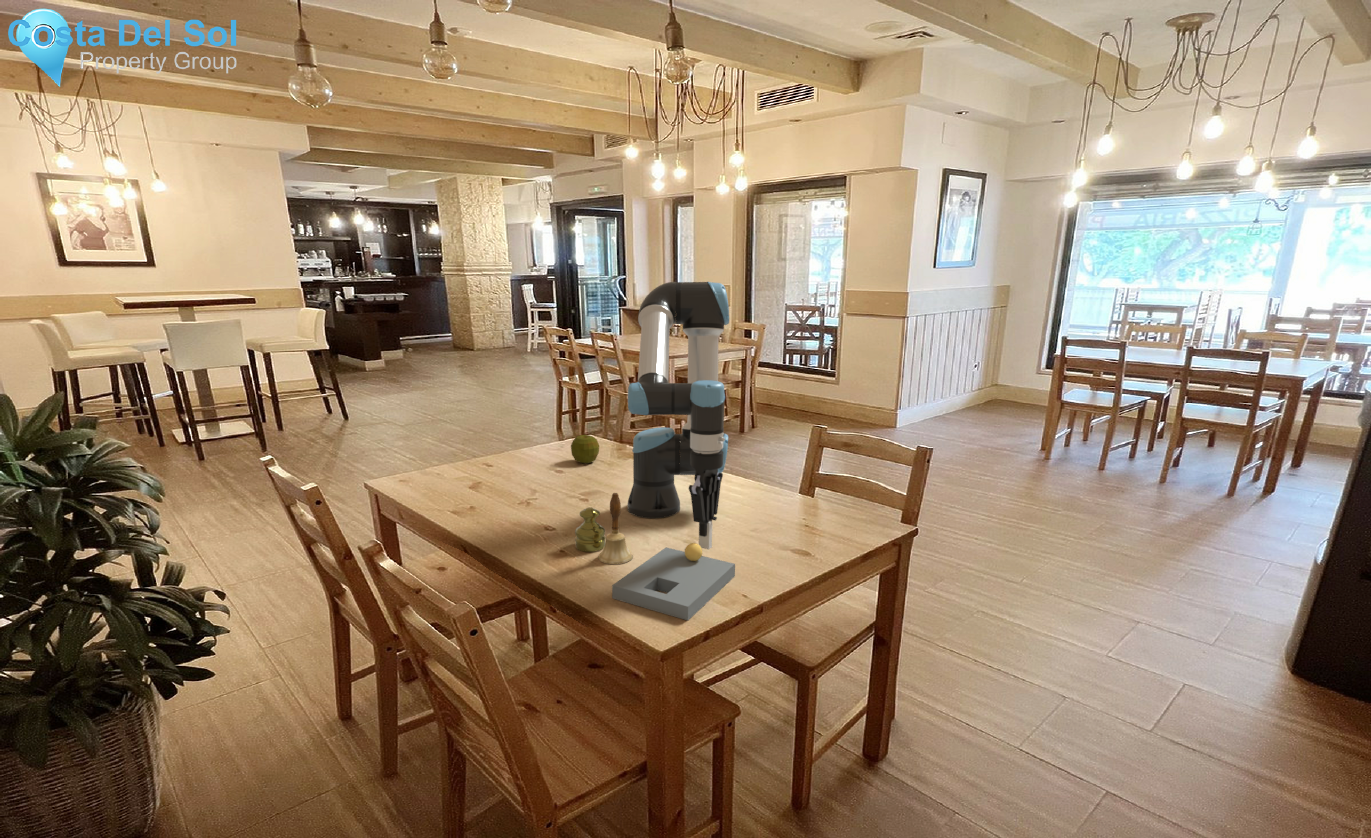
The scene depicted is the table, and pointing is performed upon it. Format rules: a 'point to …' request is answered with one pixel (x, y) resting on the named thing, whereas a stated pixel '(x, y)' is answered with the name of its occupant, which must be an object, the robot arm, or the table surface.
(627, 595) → the board
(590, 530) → the olive green tall piece
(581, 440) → the apple
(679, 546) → the table surface
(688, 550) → the ball
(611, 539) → the hand bell
